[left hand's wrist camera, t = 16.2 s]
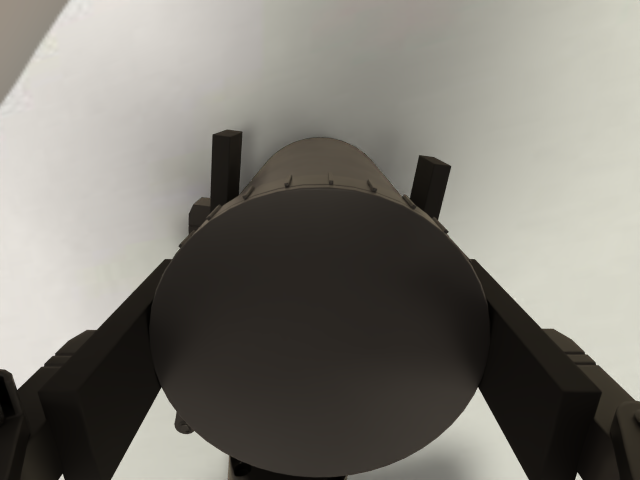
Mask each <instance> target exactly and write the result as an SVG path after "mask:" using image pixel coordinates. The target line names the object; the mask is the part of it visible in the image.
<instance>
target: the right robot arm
mask: <svg viewBox="0 0 640 480" xmlns="http://www.w3.org/2000/svg"><path fill="white" fill-rule="evenodd" d="M241 147H242V132H240V131H233V130H225V131H222V132H219V133H216V134H213V139H212V169H211V198H204V197H202V198H200V199H199V200H198V201H197V202H196V203H195V204H193V206H192V209H191V211H190V213H189V234H190V233H191V232H192V231H193V230H194V231H197V230H198V229H199V227H200V226H201V225H202V224H203V223H204V222H205V221H206V220H207V219H206V218H207V217H208V216H209V215H210V213H211V212H212V211H213V210H214V209H215V208H216V207H217V206H218V205H221V207H222V206H223V205H225V204H226V203H228V202H229V201H231V200H233V199H234V198H236V197H237V196H239V181H240V164H241ZM450 169H451V166H450V165H448V164H446V163H444V162H442V161H440V160H438V159H436V158H434V157H428V156H421V155H419V159H418V164H417V168H416V173H415V177H414V182H413V187H412V191H411V196H410V200H411V201H412V202H413V203H414V204H415V205H416V206H417V207H419V208H420V209H421V210H422V211H424V212H425V213H426V214H427V215H428V216H429V217H430V218H431V219H432V218H433V217H435V218H436V219H437V220H438V218H439V214H440V210H441V206H442V201H443V197H444V193H445V189H446V185H447V181H448V177H449V173H450ZM175 428H176V430H177V431H179V432H180V433H183V434H190V433H192V432H194V430H193V429H192V428H191V427H190V426H189V425H188V424H187V423H186V422H185V421H184V420H183V419H182V418H181V416H180V415H179V414H178V413H176V419H175ZM347 476H348V475H345V476H337V477H304V476H293V475H287V474H282V473H276V472H272V471H269V470H265V469H261V468H258V467H255V466H252V465H250V464H247V463H245V462H242V461H240V460H238V459H236V458H234V457H232V456H230V455H229V467H228V480H347Z"/></svg>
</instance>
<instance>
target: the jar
mask: <svg viewBox="0 0 640 480" xmlns="http://www.w3.org/2000/svg"><path fill="white" fill-rule="evenodd" d="M328 172H332V175H333V176H342V177H350V178H354V179H358V180H363V181H367V180H368V179H370V180H372V181H373V183H374V184H376V185H378V186H381V187H384V188H386V189H389V190H391V191H393V192H395V193H397V194H398V195H400V194H399V193H398V191H397V190H396V189H395V188H394V187H393V185H392V184H391V183H390V182H389V181H388V180H387V178H386V177H385V176H384V175H383V174H382V172H381V171H380V170H379V169H378V168H377V166H376V165H375V164H374V163H373V162H372V160H371V159H370V158H369V157H368V156H367V155H366V154H364V153H363V152H362V151H360V150H359V149H358V148H356V147H354V146H352V145H350V144H348V143H346V142H343V141H340V140H336V139H332V138H323V137H322V138H309V139H303V140H300V141H297V142H294V143H292V144H289V145H287V146H285V147H284V148H282V149H281V150H279V151H278V152H277V153H275V154H274V155H273V156H272V157H271V158H270V159H269V160H268V161H267V162H266V164H265V165H264V166H263V167H262V168H261V169H260V171H259V172H258V173H257V174H256V175H255V177H254V178H253V179H252V180H251V181H250V183H249V184H248V185H247V186H246V187H245V189H244V190H243V191H242V192H241V193H240V195H241V194H242V193H245V192H246V191H247V190H248V189H249V187H251V186H254V188H256V187H258V186H260V185H263V184H267V183H270V182H273V181H277V180H280V179H284V178H287V176H288V175H290V174H291V175H292V177H297V176H304V175H328ZM400 196H401V195H400Z"/></svg>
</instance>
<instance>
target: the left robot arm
mask: <svg viewBox="0 0 640 480" xmlns="http://www.w3.org/2000/svg"><path fill="white" fill-rule="evenodd" d="M171 260H172V259H165V260H164V261H163V262H162V263H161V264H160V265H159V266H158V267H157V268H156V269H155V270H154V271H153V272H152V273H151V274H150V275H149V276H148V277H147V278H146V279H145V281H144V282H143V283H142V284H141V285H140V286H139V287H138V288H137V289H136V290H135V291H134V292H133V293H132V294H131V295H130V296H129V297H128V298H127V299H126V300H125V301H124V302H123V303H122V304H121V305H120V306H119V308H118V309H117V310H116V311H115V312H114V313H113V314H112V315H111V316H110V317H109V318H108V319H107V320H106V321H105V322H104V323H103V324H102V325H101V326H100V327H99V328H98V329H97V330H86V331H84V332H83V333H81V334H79V335H78V336H76V337H74V338H72V339H71V340H69V341H68V342H67V343H66V344H65V345H64V346H63V347H62V348H60V349H59V350H58V351H57V352H56V353H55V356H52V357H51V358H50V359H49V360H48V361H47V362H46V363H45V364H44V367H41V368H40V369H39V370H38V371H37V372H36V373H35V374H34V375H32V376H31V377H30V378H29V379H28V380H27V381H26V382H25V383H24V384H23V385H22V386H21V387H20V388H19V389H18V390H17V388H16V385H15V382H14V379H13V376H12V374H11V373H10V372H8V371H6V370H3V369H0V480H59V478H60V477H61V475H62V474H63V476H64V479H65V480H111V478H112V477H113V475H114V473H115V471H116V469H117V468H118V466H119V464H120V462H121V460H122V458H123V457H124V455H125V453H126V451H127V449H128V447H129V446H130V444H131V442H132V440H133V438H134V436H135V435H136V433H137V431H138V429H139V427H140V426H141V424H142V422H143V420H144V418H145V416H146V415H147V413H148V411H149V409H150V407H151V405H152V404H153V402H154V400H155V398H156V396H157V394H158V393H159V391H160V389H161V385H160V383H159V380H158V377H157V375H156V372H155V369H154V365H153V360H152V354H151V349H150V342H149V322H150V313H151V307H152V303H153V300H154V296H155V292H156V289H157V287H158V285H159V282H160V280H161V276H162V275H163V274H164V271H165V270H166V268H167V267H168V265H169V263H170V262H171ZM470 261H471V263H470V264H471V265H472V267H473V269H474V271H475V273H476V275H477V277H478V279H479V281H480V283H481V285H482V288H483V291H484V294H485V297H486V300H487V304H488V311H489V317H490V346H489V352H488V358H487V363H486V367H485V370H484V373H483V376H482V379H481V381H480V383H479V385H478V388H479V389H480V391H481V393H482V395H483V397H484V399H485V400H486V402H487V404H488V406H489V408H490V410H491V411H492V413H493V415H494V417H495V419H496V420H497V422H498V424H499V426H500V428H501V430H502V431H503V433H504V435H505V437H506V439H507V441H508V442H509V444H510V446H511V448H512V450H513V452H514V453H515V455H516V457H517V459H518V461H519V462H520V464H521V466H522V468H523V470H524V472H525V473H526V475H527V477H528V479H529V480H575V478H576V475H577V472H578V473H579V475H580V476H581V478H582V479H583V480H640V402H639V401H635V400H634V399H633V398H632V397H631V396H630V395H629V394H628V393H627V392H626V391H625V390H624V389H623V388H622V387H621V386H620V385H619V384H618V383H616V382H615V381H614V380H613V379H612V378H611V377H610V376H609V375H608V374H607V373H606V372H605V371H604V370H603V369H602V368H601V367H600V366H599V365H596V362H595V361H594V360H592V359H591V358H590V357H589V356H588V355H585V352H584V351H583V350H582V349H581V348H580V347H579V346H578V345H577V344H576V343H575V342H574V341H573V340H572V339H570V338H568V337H566V336H565V335H563V334H561V333H560V332H558V331H556V330H554V329H541V328H540V327H539V325H538V324H537V323H536V322H535V321H534V320H533V319H532V318H531V317H530V316H529V315H528V314H527V313H526V312H525V311H524V310H523V309H522V308H521V307H520V306H519V305H518V304H517V303H516V302H515V301H514V299H513V298H512V297H511V296H510V295H509V294H508V293H507V292H506V291H505V290H504V289H503V288H502V287H501V286H500V285H499V284H498V283H497V282H496V281H495V280H494V279H493V278H492V277H491V276H490V275H489V273H488V272H487V271H486V270H485V269H484V268H483V267H482V266H481V265H480V264H479V263H478V262H477V261H476V260H475V259H470Z"/></svg>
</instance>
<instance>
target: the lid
mask: <svg viewBox="0 0 640 480" xmlns="http://www.w3.org/2000/svg"><path fill="white" fill-rule="evenodd" d="M206 219H207V220H206V221H205V222H204V223H203V224H202V225H201V226H200V227H199V229H198V230H197V231H194V230H193V231H192V232H191V233H190V234H189V235H188V236H187V237H186V238H185V239H184V240H183V242H182V243H181V244H180V245H179V247H180V249H179V251H178V252H177V253H176V254H175V256H174V257H173V259H172V260H171V262H170V263H169V265H168V267H167V268H166V270H165V271H164V274H163V275H162V276H161V280H160V282H159V285H158V287H157V289H156V292H155V296H154V300H153V303H152V307H151V313H150V322H149V342H150V349H151V354H152V360H153V365H154V369H155V372H156V375H157V377H158V380H159V383H160V385H161V387H162V389H163V391H164V393H165V394H166V396H167V398H168V400H169V401H170V403H171V404H172V406H173V407H174V408H175V410H176V411H177V413H178V414H179V415H180V416H181V418H182V419H183V420H184V421H185V422H186V423H187V424H188V425H189V426H190V427H191V428H192V429H193V430H194V431H195V432H196V433H198V434H199V435H200V436H201V437H202V438H203V439H205V440H206V441H207V442H209V443H210V444H212V445H213V446H215V447H216V448H218V449H219V450H221V451H222V452H224V453H226V454H228V455H230V456H232V457H234V458H236V459H238V460H240V461H242V462H245V463H247V464H250V465H252V466H255V467H258V468H261V469H265V470H269V471H272V472H276V473H282V474H287V475H293V476H304V477H337V476H345V475H353V474H358V473H363V472H367V471H371V470H375V469H378V468H381V467H384V466H387V465H390V464H392V463H395V462H397V461H399V460H401V459H404V458H406V457H408V456H410V455H411V454H413V453H415V452H417V451H419V450H420V449H422V448H424V447H425V446H426V445H428V444H429V443H431V442H432V441H433V440H435V439H436V438H437V437H439V436H440V435H441V434H442V433H443V432H444V431H445V430H446V429H447V428H449V427H450V426H451V425H452V424H453V422H454V421H455V420H456V419H457V418H458V417H459V416H460V414H461V413H462V412H463V411H464V409H465V408H466V406H467V405H468V403H469V402H470V400H471V399H472V397H473V396H474V394H475V392H476V390H477V388H478V385H479V383H480V381H481V379H482V376H483V373H484V370H485V367H486V363H487V358H488V352H489V346H490V317H489V311H488V304H487V300H486V297H485V294H484V291H483V288H482V285H481V283H480V281H479V279H478V277H477V275H476V273H475V271H474V269H473V267H472V265H471V264H470V263H471V261H470V259H469V258H468V257H467V256H466V255H465V254H464V253H463V252H462V251H461V249H460V248H459V247H458V246H457V245H456V244H455V243H454V242H453V241H452V240H451V239H450V237H449V236H448V235H447V233H448V231H447V229H446V228H445V227H444V226H443V225H442V224H441V223H440V222H439V221H438V220H437V219H436V218H435V217H433V218H432V219H431V218H430V217H429V216H428V215H427V214H426V213H425V212H424V211H422V210H421V209H420V208H419V207H417V206H416V205H415V204H414V203H413V202H412V201H411V200H410V199H409V197H408V196H407V195H405V194H404V195H403V197H402V196H400V195H398V194H397V193H395V192H393V191H391V190H389V189H386V188H384V187H381V186H378V185H376V184H374V183H373V181H372V180H370V179H368V180H367V181H363V180H358V179H354V178H350V177H342V176H333V175H332V172H328V175H304V176H297V177H292V175H291V174H290V175H288V176H287V178H284V179H280V180H277V181H273V182H270V183H267V184H263V185H260V186H258V187H256V188H254V186H251V187H249V189H248V190H247V191H246V192H245V193H242V194H241V195H239V196H237V197H236V198H234V199H233V200H231V201H229V202H228V203H226V204H225V205H223V206H222V207H221V205H218V206H217V207H216V208H215V209H214V210H213V211H212V212H211V213H210V215H209V216H208V217H207V218H206Z"/></svg>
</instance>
